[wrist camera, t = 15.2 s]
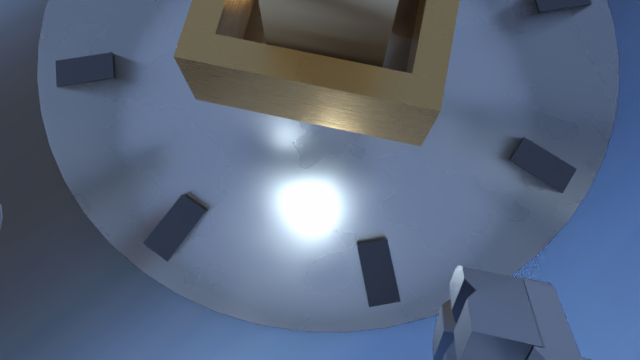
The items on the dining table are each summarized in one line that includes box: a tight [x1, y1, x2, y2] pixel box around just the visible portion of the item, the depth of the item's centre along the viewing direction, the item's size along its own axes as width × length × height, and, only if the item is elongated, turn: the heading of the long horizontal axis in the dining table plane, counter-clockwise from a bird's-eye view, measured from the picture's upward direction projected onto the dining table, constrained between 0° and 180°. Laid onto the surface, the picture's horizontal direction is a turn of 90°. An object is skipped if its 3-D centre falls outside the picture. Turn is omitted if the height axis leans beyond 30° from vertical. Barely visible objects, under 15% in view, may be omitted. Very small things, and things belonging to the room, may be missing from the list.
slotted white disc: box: [37, 0, 619, 332], centre depth 18 cm, size 21×21×4 cm
